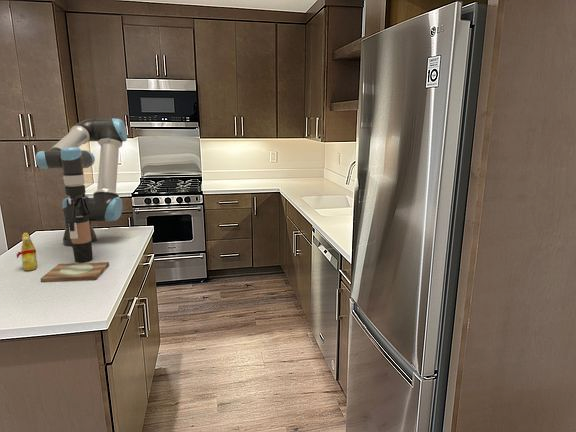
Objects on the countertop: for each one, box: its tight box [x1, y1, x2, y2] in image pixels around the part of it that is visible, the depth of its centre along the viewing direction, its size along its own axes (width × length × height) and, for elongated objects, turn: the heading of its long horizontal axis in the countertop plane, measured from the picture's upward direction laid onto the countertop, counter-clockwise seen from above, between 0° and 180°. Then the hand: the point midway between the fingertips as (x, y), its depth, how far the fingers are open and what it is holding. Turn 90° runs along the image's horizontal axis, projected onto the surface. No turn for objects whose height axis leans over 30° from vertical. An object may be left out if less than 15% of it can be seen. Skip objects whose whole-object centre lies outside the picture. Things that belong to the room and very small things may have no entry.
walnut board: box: [40, 261, 110, 283], centre depth 163 cm, size 16×20×2 cm
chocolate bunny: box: [16, 232, 38, 272], centre depth 168 cm, size 7×11×15 cm, turn 29°
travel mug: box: [71, 214, 94, 263], centre depth 176 cm, size 8×8×20 cm
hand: (80, 234), depth 175 cm, fingers open, 13 cm apart
